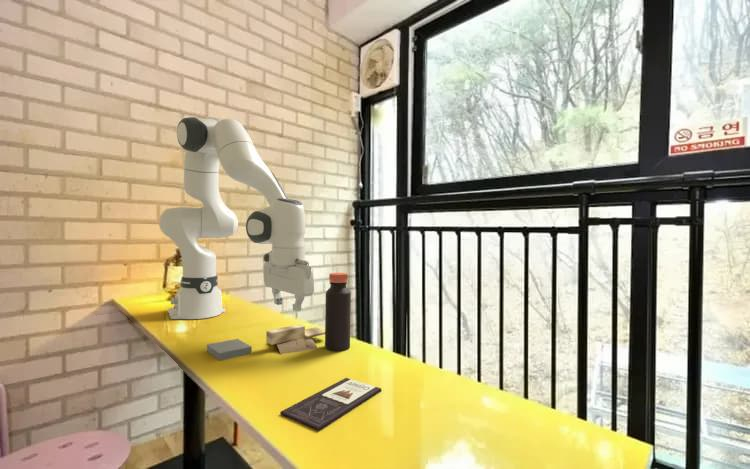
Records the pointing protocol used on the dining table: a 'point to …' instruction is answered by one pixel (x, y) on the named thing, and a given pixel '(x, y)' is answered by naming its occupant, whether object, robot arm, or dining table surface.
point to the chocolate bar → (330, 403)
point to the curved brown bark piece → (297, 345)
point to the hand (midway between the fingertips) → (287, 307)
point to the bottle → (337, 313)
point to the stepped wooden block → (291, 333)
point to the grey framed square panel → (229, 349)
